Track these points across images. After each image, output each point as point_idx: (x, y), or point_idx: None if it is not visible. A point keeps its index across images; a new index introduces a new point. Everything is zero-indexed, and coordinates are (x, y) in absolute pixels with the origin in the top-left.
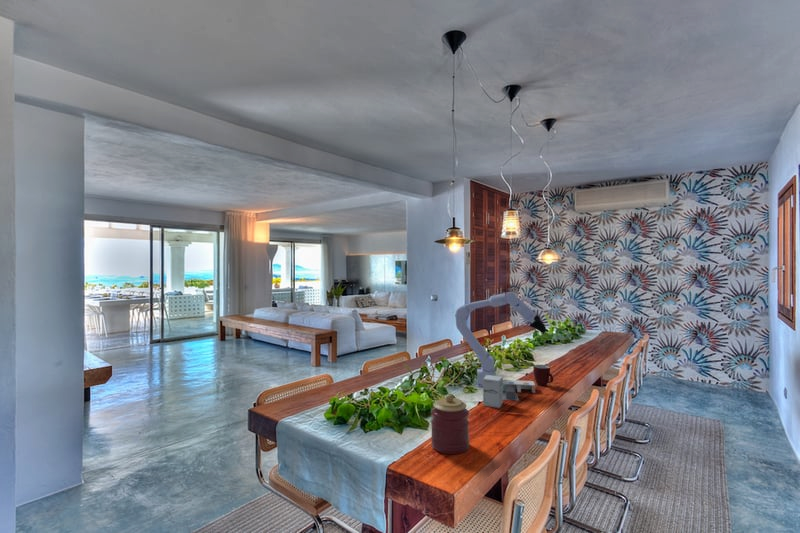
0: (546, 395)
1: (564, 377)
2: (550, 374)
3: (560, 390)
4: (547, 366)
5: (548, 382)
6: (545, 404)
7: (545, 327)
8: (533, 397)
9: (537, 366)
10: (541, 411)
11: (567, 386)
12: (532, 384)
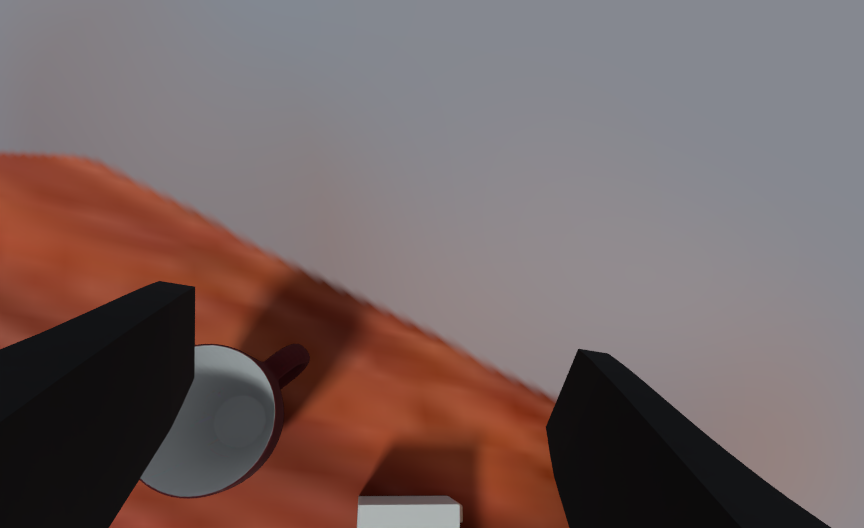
0: (450, 423)
1: (16, 224)
2: (293, 359)
3: (336, 318)
4: None
5: (291, 380)
6: None
7: (188, 299)
8: (506, 515)
9: None
10: None
11: (244, 257)
12: (449, 524)
